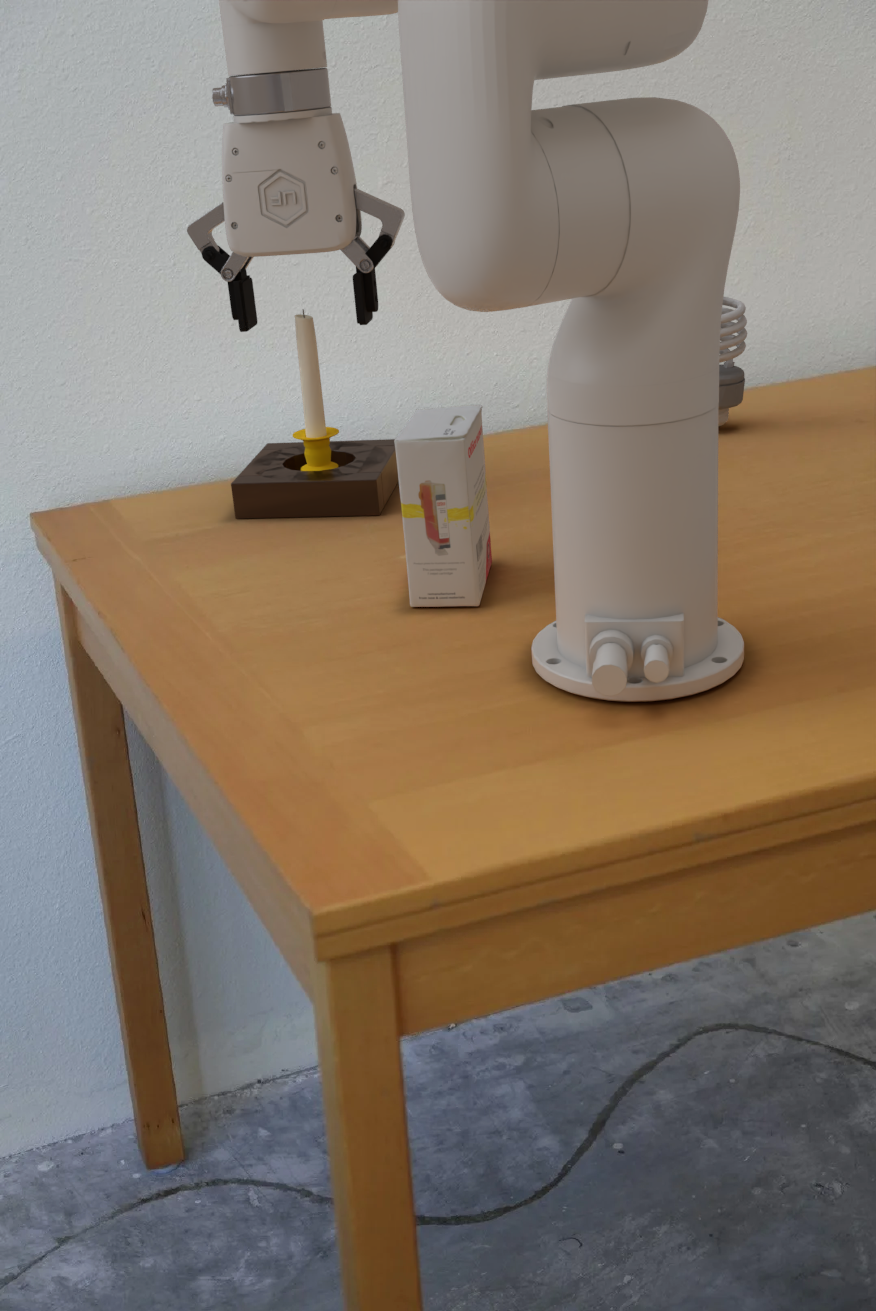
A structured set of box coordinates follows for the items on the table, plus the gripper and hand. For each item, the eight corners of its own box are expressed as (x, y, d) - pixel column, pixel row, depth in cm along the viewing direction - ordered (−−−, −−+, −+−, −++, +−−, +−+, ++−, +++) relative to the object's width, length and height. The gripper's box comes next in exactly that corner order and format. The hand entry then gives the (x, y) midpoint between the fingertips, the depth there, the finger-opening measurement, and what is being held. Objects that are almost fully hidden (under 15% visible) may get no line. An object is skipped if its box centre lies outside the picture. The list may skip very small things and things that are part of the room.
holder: (379, 515, 118) (376, 479, 117) (235, 518, 120) (230, 483, 119) (404, 472, 129) (401, 438, 128) (271, 475, 131) (267, 443, 130)
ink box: (426, 564, 107) (414, 404, 102) (494, 563, 106) (484, 401, 101) (406, 609, 99) (391, 437, 94) (479, 608, 98) (467, 435, 94)
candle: (356, 484, 127) (339, 300, 121) (348, 502, 122) (330, 312, 116) (296, 487, 127) (276, 304, 121) (286, 505, 122) (264, 316, 116)
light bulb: (711, 417, 138) (711, 287, 134) (758, 426, 134) (761, 293, 130) (670, 430, 135) (669, 297, 131) (717, 440, 131) (718, 303, 126)
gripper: (156, 110, 110) (189, 340, 117) (383, 91, 107) (404, 328, 114) (186, 105, 117) (216, 322, 123) (401, 87, 114) (419, 311, 121)
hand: (306, 325), depth 119 cm, fingers open, 9 cm apart
